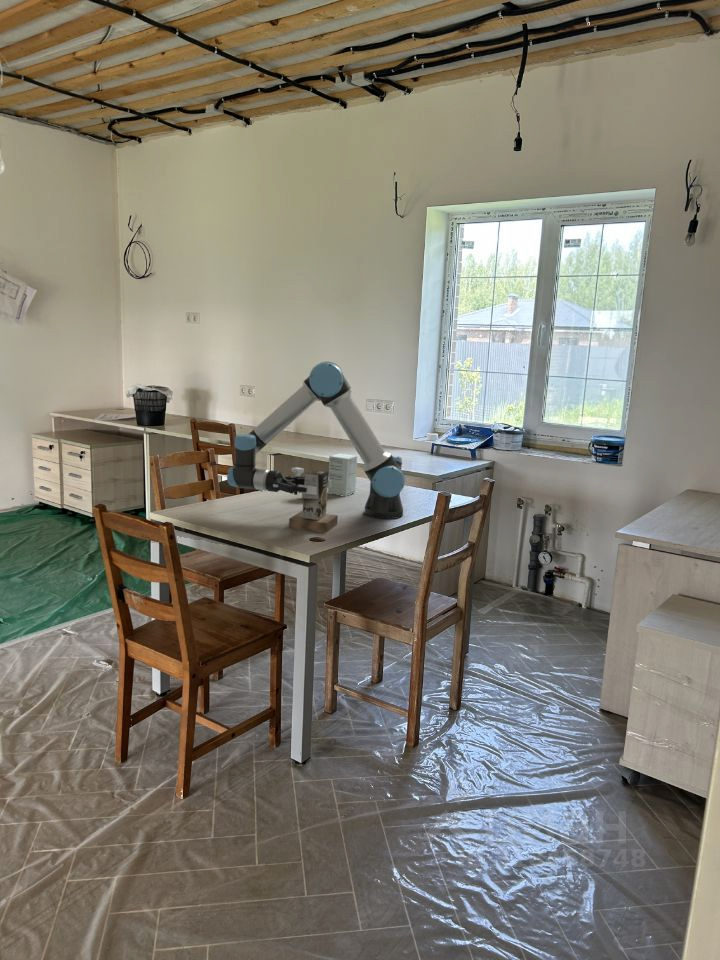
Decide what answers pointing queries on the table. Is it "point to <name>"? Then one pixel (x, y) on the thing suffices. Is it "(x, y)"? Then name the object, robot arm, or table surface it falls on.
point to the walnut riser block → (313, 523)
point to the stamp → (297, 471)
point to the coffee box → (315, 503)
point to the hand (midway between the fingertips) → (323, 487)
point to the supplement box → (342, 474)
